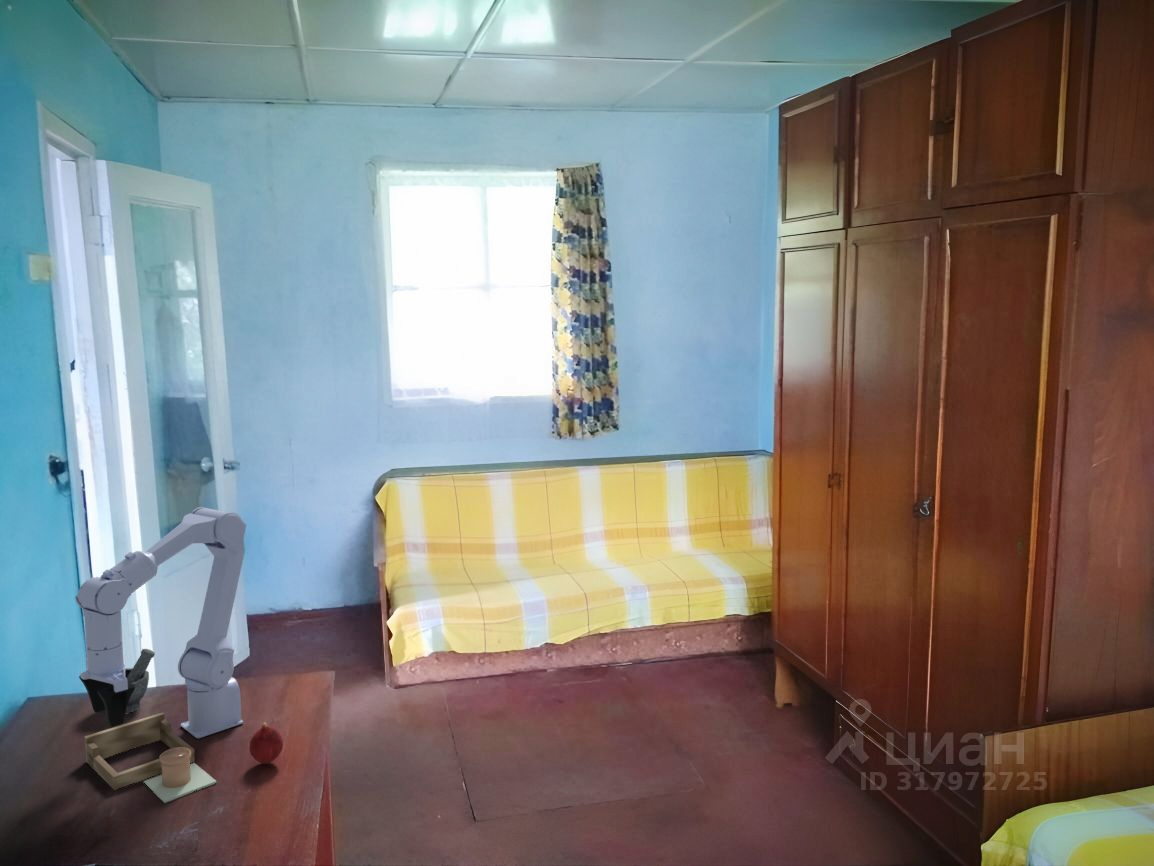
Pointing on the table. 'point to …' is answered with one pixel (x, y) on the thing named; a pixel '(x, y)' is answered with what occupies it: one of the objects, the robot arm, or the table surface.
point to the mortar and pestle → (138, 679)
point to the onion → (266, 744)
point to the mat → (196, 783)
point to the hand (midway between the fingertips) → (108, 717)
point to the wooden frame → (128, 738)
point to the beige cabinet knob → (175, 767)
